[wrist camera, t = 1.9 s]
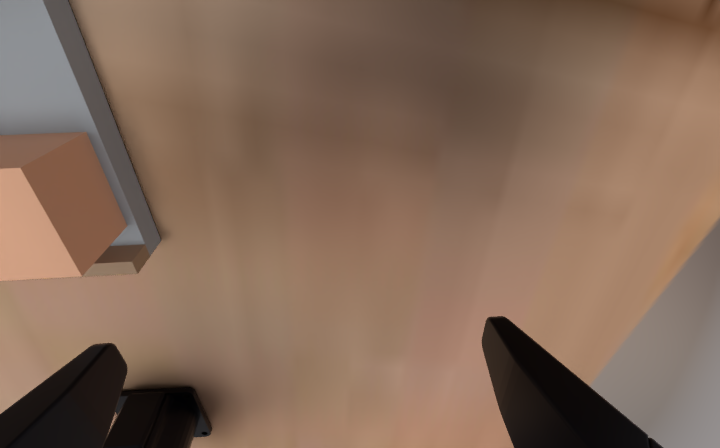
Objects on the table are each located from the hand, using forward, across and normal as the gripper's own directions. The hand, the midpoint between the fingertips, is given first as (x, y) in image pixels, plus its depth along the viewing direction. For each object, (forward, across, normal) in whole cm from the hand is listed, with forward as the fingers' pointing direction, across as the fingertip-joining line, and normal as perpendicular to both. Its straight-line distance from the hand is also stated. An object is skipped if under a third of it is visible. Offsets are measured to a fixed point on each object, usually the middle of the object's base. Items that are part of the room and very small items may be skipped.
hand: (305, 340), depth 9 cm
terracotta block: (+10, +13, 0) cm, 17 cm away
